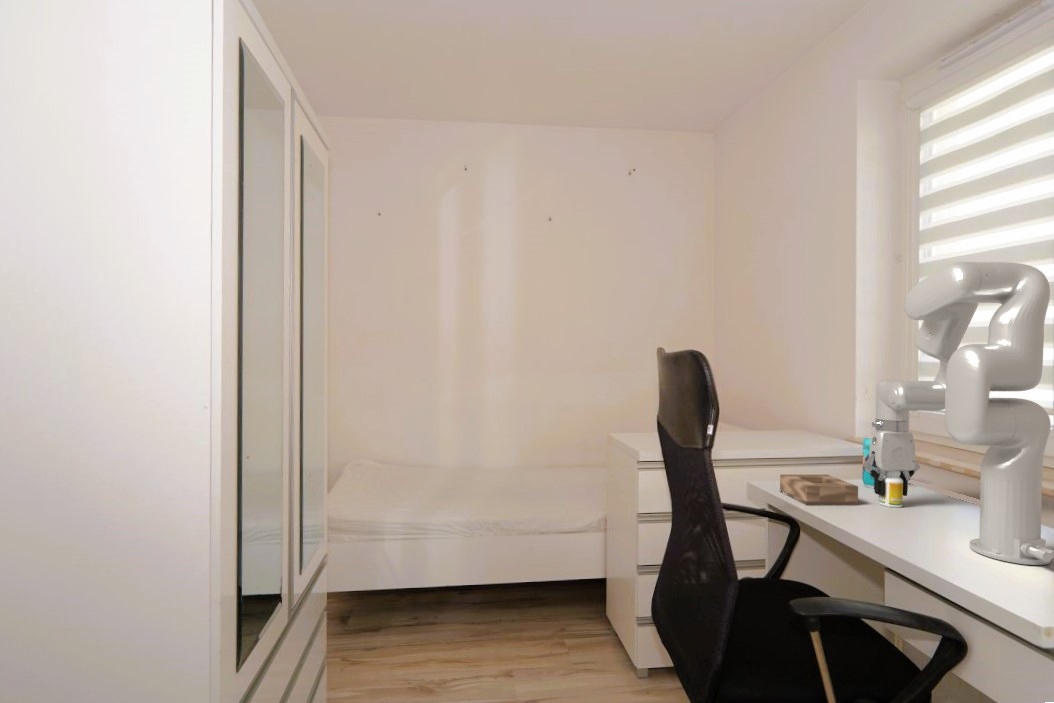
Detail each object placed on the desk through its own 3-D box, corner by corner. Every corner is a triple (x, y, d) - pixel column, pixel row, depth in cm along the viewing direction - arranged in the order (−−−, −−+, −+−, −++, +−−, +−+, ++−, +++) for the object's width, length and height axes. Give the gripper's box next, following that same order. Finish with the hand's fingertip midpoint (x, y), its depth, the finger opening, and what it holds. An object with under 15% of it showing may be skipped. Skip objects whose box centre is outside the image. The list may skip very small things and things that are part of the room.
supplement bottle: (875, 504, 152) (876, 468, 152) (882, 501, 156) (883, 466, 156) (898, 509, 148) (899, 472, 148) (905, 505, 151) (906, 469, 151)
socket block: (857, 505, 151) (858, 486, 151) (806, 505, 151) (806, 486, 150) (827, 491, 165) (827, 474, 165) (780, 491, 164) (780, 474, 164)
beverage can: (858, 484, 175) (859, 435, 175) (877, 484, 175) (878, 435, 175) (868, 488, 170) (869, 438, 169) (888, 489, 169) (889, 438, 169)
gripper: (870, 428, 147) (868, 498, 148) (933, 428, 148) (932, 498, 149) (852, 424, 155) (850, 491, 155) (912, 424, 156) (911, 491, 156)
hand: (890, 493), depth 152 cm, fingers closed on supplement bottle, 5 cm apart
